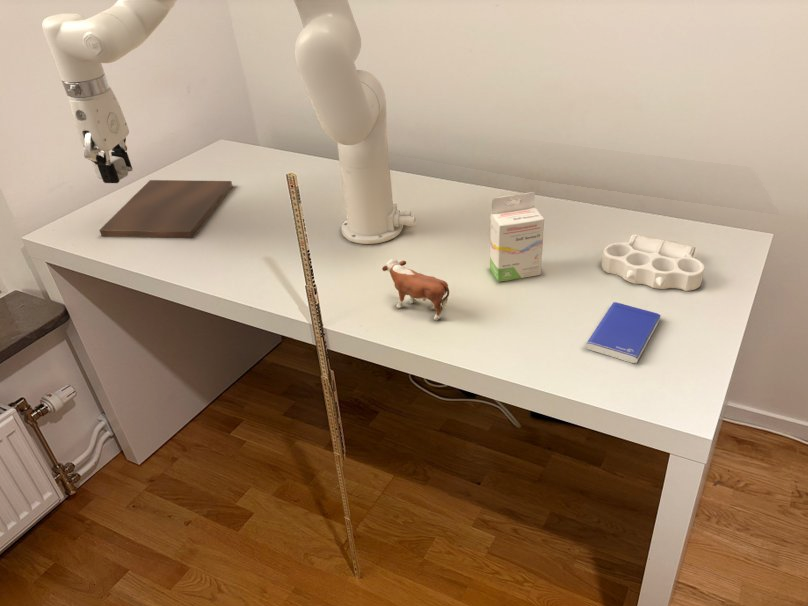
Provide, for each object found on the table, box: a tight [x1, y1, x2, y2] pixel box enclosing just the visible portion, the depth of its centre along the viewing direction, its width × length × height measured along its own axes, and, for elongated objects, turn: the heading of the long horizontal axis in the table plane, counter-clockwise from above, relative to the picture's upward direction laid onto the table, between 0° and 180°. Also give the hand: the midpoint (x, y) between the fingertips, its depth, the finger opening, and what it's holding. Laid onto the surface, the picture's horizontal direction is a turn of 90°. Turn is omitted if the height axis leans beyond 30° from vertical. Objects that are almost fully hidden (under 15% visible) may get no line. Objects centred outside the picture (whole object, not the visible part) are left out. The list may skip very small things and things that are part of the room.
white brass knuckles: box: [601, 233, 705, 292], centre depth 126 cm, size 3×18×15 cm
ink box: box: [489, 191, 545, 283], centre depth 124 cm, size 9×5×15 cm, turn 105°
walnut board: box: [98, 179, 234, 239], centre depth 153 cm, size 20×24×2 cm
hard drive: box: [585, 301, 661, 364], centre depth 112 cm, size 2×8×12 cm
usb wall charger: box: [92, 154, 133, 181], centre depth 140 cm, size 4×7×4 cm, turn 65°
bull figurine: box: [381, 258, 450, 321], centre depth 118 cm, size 4×13×8 cm, turn 55°
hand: (118, 175), depth 141 cm, fingers closed on usb wall charger, 4 cm apart
